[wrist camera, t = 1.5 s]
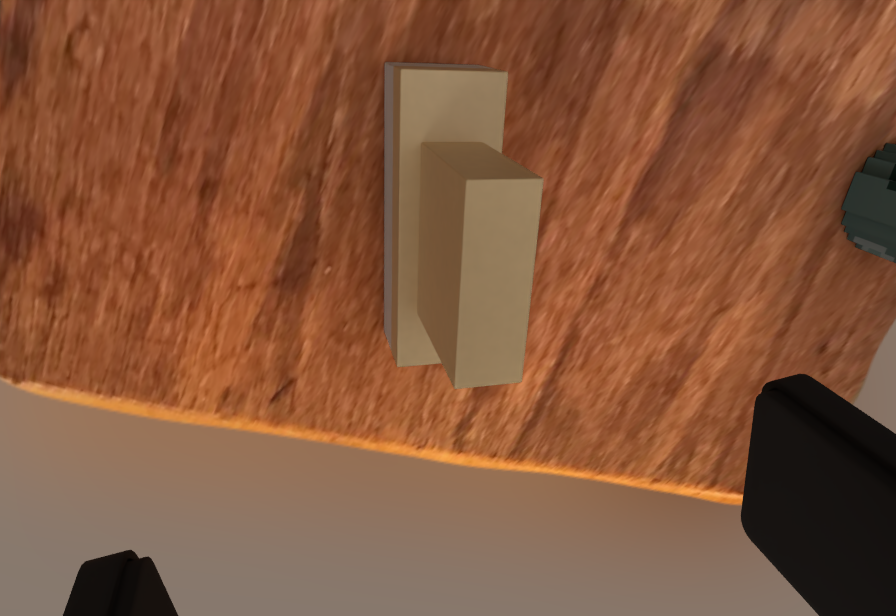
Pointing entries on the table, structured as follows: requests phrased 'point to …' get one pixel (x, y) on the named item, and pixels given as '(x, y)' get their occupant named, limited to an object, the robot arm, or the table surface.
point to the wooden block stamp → (456, 225)
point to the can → (874, 205)
